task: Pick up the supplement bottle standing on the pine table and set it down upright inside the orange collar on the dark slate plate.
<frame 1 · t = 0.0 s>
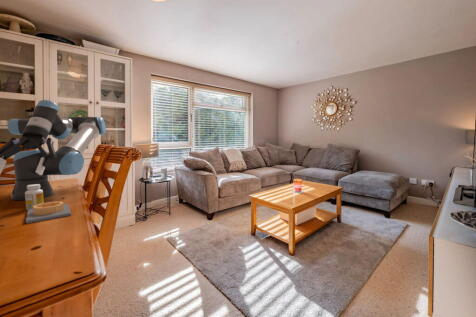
hand: (17, 174, 79), 15 cm above the table, tool tilted 35°, fingers open, 13 cm apart
socket plate: (49, 213, 81), on the table
supplement bottle: (35, 208, 87), on the table
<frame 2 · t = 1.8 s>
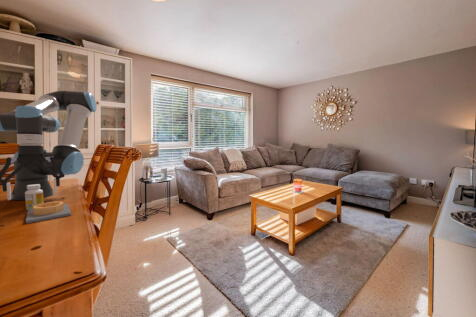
hand: (33, 196, 87), 5 cm above the table, tool pointing down, fingers open, 13 cm apart
nothing on the table moved.
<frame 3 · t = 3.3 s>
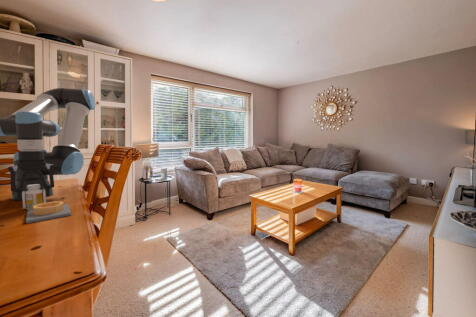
hand: (35, 206, 87), 1 cm above the table, tool pointing down, fingers closed on supplement bottle, 5 cm apart
supplement bottle: (35, 208, 87), on the table, touching gripper
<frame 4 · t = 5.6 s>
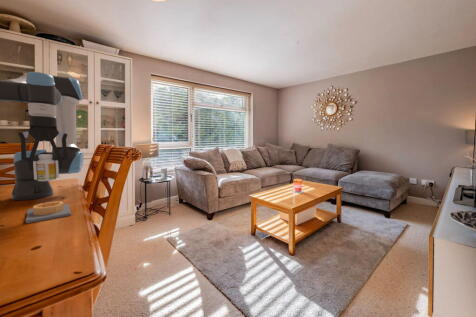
hand: (46, 178, 80), 14 cm above the table, tool pointing down, fingers closed on supplement bottle, 5 cm apart
supplement bottle: (47, 180, 80), point 13 cm above the table, touching gripper
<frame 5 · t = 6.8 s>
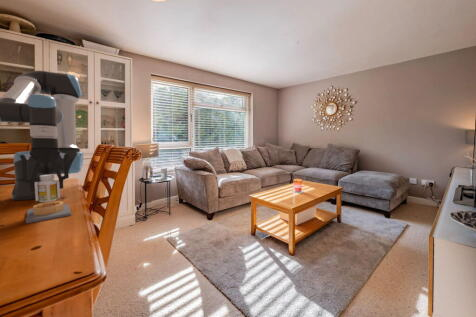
hand: (48, 198, 80), 6 cm above the table, tool pointing down, fingers closed on supplement bottle, 5 cm apart
supplement bottle: (48, 201, 80), point 5 cm above the table, touching gripper
when the fingers open (4 cm above the table, at t = 7.9 s): supplement bottle drops 2 cm, resting on socket plate.
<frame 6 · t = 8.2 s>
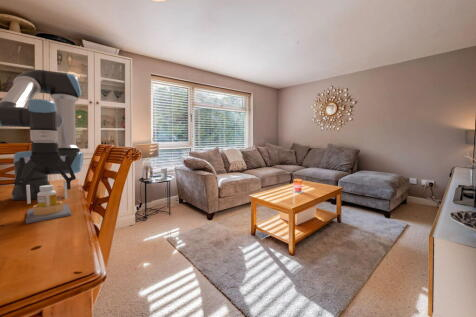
hand: (48, 200, 81), 5 cm above the table, tool pointing down, fingers open, 10 cm apart
supplement bottle: (48, 211, 81), point 1 cm above the table, touching socket plate
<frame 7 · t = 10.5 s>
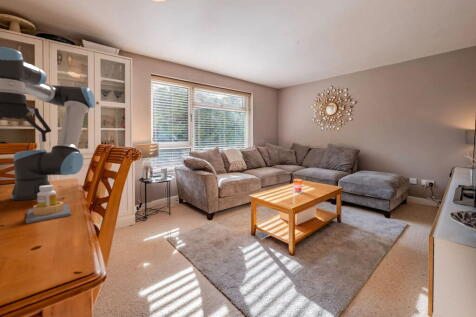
hand: (17, 150, 79), 24 cm above the table, tool pointing down, fingers open, 13 cm apart
nothing on the table moved.
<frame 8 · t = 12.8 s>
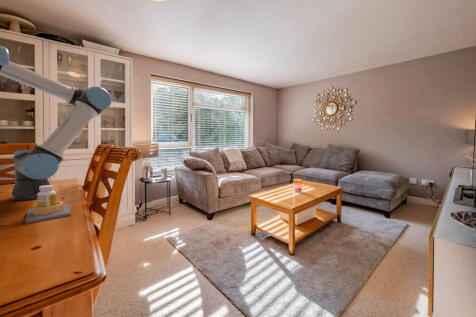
nothing on the table moved.
at the end: supplement bottle 0.4 cm off-centre on the socket plate, point 0.9 cm above the socket plate's base; supplement bottle tilted 0°; the gripper is holding nothing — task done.
